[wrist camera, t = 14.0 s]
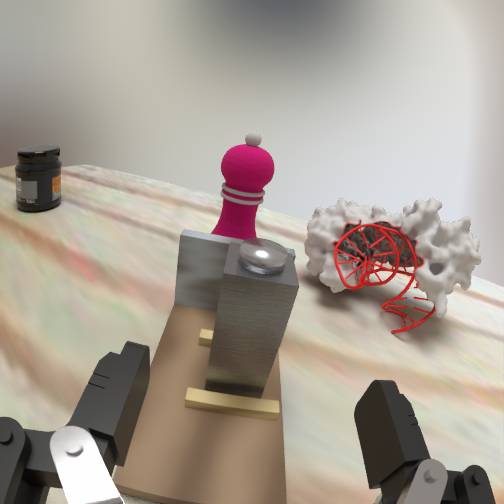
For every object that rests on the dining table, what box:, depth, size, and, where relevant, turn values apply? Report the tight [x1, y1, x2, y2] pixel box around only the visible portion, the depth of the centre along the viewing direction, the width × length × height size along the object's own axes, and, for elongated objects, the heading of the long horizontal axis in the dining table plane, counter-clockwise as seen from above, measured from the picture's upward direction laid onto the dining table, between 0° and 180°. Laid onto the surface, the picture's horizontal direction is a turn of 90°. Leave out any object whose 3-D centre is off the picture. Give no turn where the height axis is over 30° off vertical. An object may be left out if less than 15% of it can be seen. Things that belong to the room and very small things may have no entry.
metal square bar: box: [204, 238, 299, 399], centre depth 22 cm, size 4×4×12 cm
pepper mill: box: [211, 132, 274, 240], centre depth 37 cm, size 7×7×20 cm
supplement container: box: [15, 145, 62, 212], centre depth 50 cm, size 10×10×12 cm
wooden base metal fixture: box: [113, 229, 296, 504], centre depth 22 cm, size 11×22×10 cm, turn 179°
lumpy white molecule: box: [304, 197, 481, 333], centre depth 40 cm, size 20×18×25 cm
